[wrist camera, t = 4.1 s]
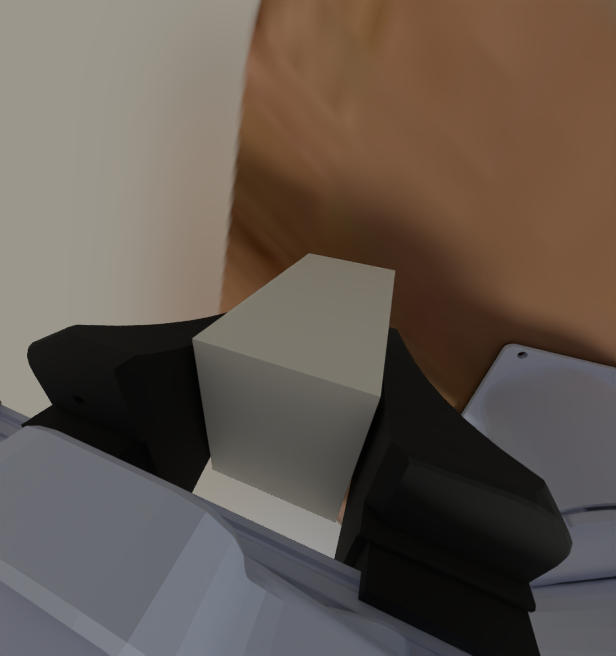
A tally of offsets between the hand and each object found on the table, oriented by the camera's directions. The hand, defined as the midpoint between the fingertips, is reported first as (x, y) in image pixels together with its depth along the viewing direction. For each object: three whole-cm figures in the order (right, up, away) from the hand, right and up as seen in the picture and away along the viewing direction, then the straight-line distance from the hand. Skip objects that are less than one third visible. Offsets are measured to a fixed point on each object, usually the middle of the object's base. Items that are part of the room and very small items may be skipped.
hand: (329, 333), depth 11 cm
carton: (+1, +1, +2) cm, 2 cm away
